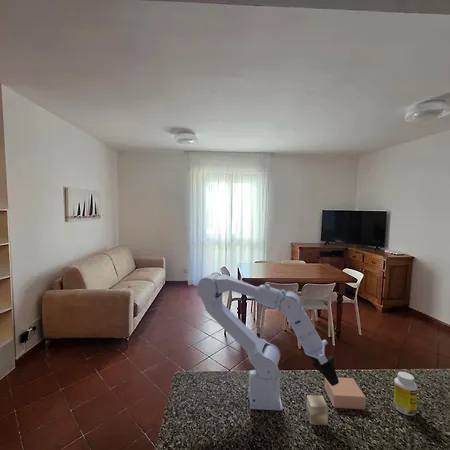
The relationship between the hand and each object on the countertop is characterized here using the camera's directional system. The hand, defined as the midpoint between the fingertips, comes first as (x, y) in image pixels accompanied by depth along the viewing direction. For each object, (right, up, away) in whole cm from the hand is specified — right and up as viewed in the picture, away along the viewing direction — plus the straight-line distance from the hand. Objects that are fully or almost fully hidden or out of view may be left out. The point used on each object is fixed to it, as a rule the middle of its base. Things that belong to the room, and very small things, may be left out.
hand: (330, 377), depth 72 cm
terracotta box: (+7, -11, +8) cm, 16 cm away
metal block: (-4, -11, 0) cm, 12 cm away
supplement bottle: (+23, -12, +3) cm, 26 cm away
